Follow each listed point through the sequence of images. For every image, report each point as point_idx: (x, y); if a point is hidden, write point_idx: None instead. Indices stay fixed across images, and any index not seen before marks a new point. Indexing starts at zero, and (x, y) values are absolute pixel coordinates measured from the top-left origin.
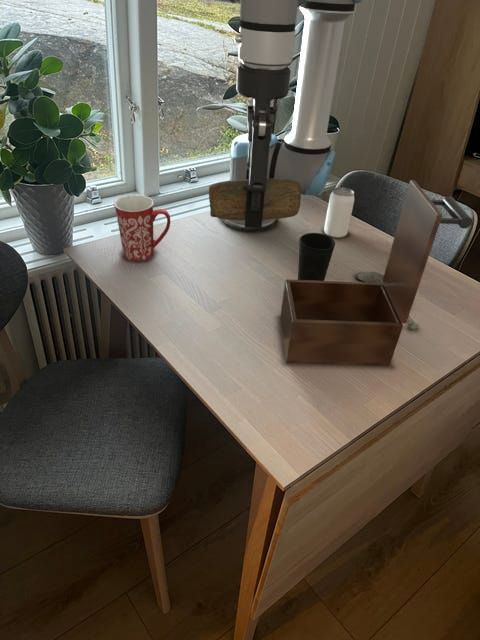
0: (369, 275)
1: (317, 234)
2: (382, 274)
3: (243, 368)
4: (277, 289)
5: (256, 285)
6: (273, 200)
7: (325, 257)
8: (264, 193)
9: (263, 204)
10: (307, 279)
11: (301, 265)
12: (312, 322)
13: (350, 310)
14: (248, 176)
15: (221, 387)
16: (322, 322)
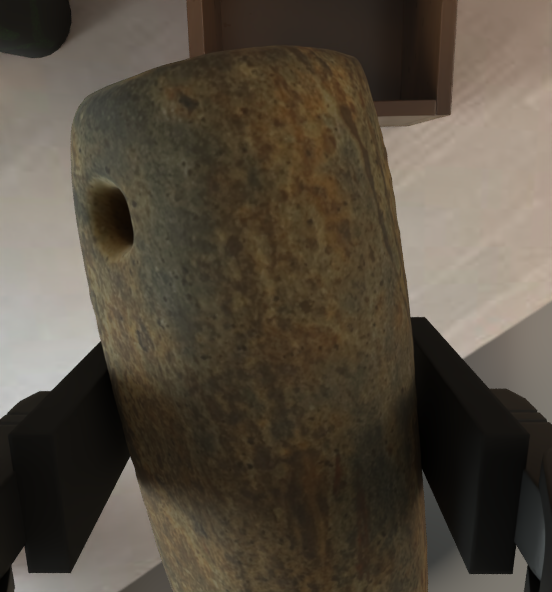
0: None
1: None
2: None
3: (426, 238)
4: (61, 128)
5: (52, 196)
6: (407, 300)
7: None
8: (512, 417)
9: (475, 376)
10: (49, 19)
11: (11, 38)
12: (454, 42)
13: None
14: (87, 516)
15: (489, 288)
16: (455, 4)
